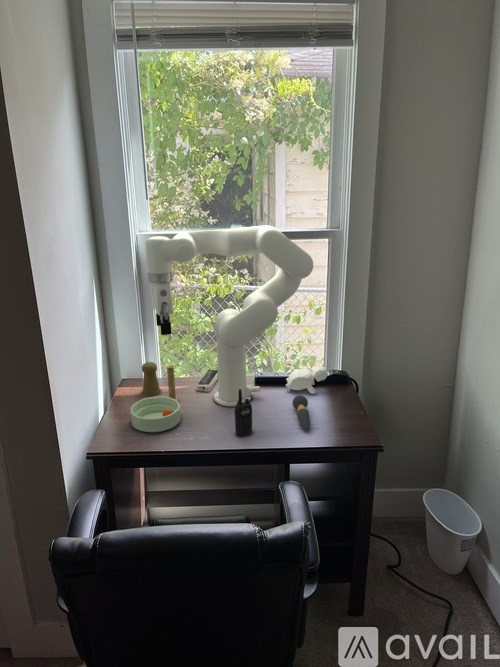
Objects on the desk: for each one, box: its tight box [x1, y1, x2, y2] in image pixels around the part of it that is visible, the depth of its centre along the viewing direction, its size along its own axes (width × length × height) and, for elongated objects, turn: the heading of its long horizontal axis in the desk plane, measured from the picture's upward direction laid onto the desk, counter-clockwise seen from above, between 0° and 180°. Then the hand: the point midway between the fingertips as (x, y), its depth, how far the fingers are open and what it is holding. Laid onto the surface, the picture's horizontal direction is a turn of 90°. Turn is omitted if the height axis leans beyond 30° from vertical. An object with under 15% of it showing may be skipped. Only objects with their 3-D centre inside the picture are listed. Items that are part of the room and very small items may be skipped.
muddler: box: [166, 365, 178, 401], centre depth 172 cm, size 3×3×13 cm
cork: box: [141, 361, 161, 397], centre depth 180 cm, size 6×6×11 cm
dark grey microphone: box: [291, 394, 311, 431], centre depth 162 cm, size 20×5×5 cm, turn 7°
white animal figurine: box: [285, 365, 328, 395], centre depth 182 cm, size 9×8×15 cm
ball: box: [162, 409, 172, 417], centre depth 162 cm, size 3×3×3 cm
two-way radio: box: [234, 389, 253, 437], centre depth 152 cm, size 6×4×15 cm
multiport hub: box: [196, 369, 218, 393], centre depth 188 cm, size 4×14×2 cm, turn 167°
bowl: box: [129, 396, 182, 433], centre depth 161 cm, size 15×15×5 cm
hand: (163, 329), depth 164 cm, fingers open, 9 cm apart
